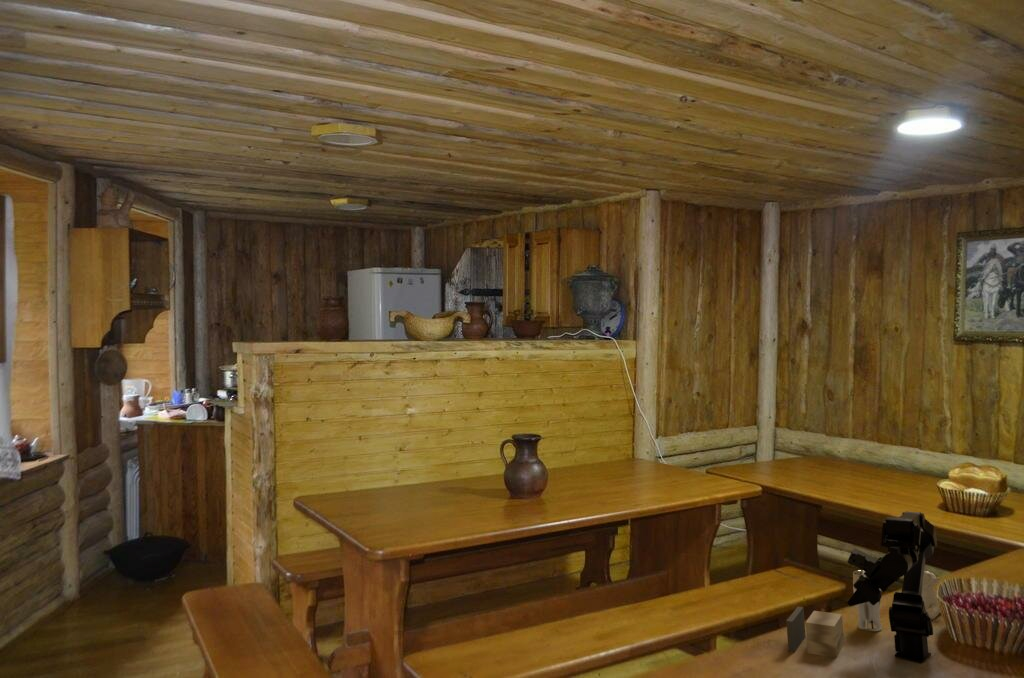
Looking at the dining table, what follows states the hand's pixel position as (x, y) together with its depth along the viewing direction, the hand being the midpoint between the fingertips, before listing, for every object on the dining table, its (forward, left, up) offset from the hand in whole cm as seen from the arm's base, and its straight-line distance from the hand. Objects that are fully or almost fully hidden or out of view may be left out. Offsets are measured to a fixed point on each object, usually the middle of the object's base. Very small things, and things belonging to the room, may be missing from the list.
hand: (848, 604), depth 191 cm
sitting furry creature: (-3, -41, -13) cm, 43 cm away
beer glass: (+4, -20, -13) cm, 24 cm away
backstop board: (+13, +3, -13) cm, 19 cm away
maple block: (+7, +1, -13) cm, 14 cm away
